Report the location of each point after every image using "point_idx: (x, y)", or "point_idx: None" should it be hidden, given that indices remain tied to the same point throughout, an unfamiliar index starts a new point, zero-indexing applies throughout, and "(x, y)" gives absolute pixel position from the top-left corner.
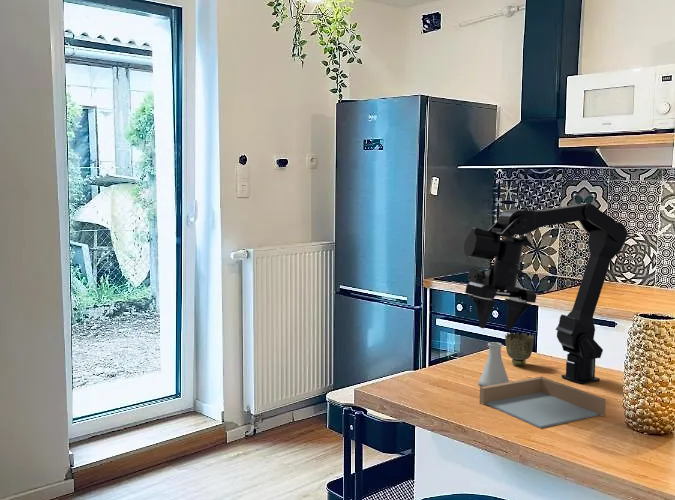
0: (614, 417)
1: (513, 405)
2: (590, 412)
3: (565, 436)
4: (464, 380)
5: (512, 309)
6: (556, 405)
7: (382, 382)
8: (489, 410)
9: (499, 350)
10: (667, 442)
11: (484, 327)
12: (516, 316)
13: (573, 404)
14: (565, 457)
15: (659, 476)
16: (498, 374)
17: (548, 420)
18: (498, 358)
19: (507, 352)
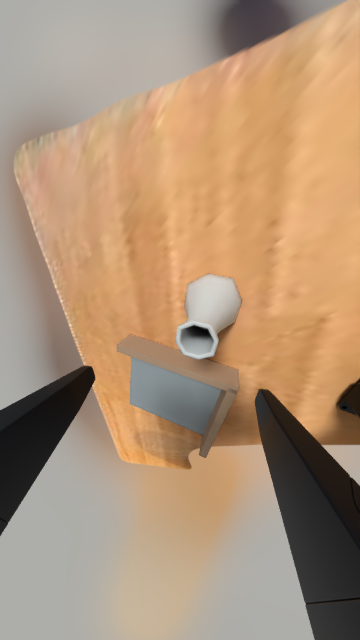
0: None
1: (150, 369)
2: (199, 429)
3: (135, 418)
4: (192, 244)
5: (339, 583)
6: (191, 402)
7: (53, 146)
8: None
9: (199, 346)
10: (186, 469)
11: (92, 383)
12: (281, 513)
13: (210, 414)
14: (108, 423)
15: (133, 460)
16: (196, 327)
17: (146, 405)
18: (198, 336)
19: None
